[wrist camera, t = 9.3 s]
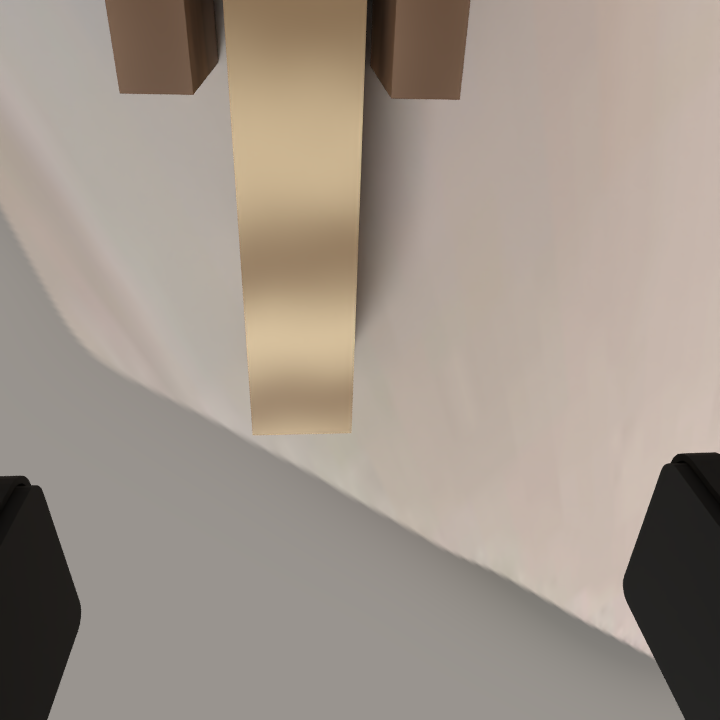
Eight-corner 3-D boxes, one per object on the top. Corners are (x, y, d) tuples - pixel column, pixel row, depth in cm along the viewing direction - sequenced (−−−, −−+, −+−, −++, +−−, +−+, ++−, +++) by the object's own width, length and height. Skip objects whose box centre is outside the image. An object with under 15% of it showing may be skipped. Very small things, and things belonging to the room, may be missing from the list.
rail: (235, -59, 21) (218, -63, 17) (354, -54, 22) (368, -56, 17) (259, 362, 30) (252, 435, 26) (343, 361, 31) (351, 433, 26)
